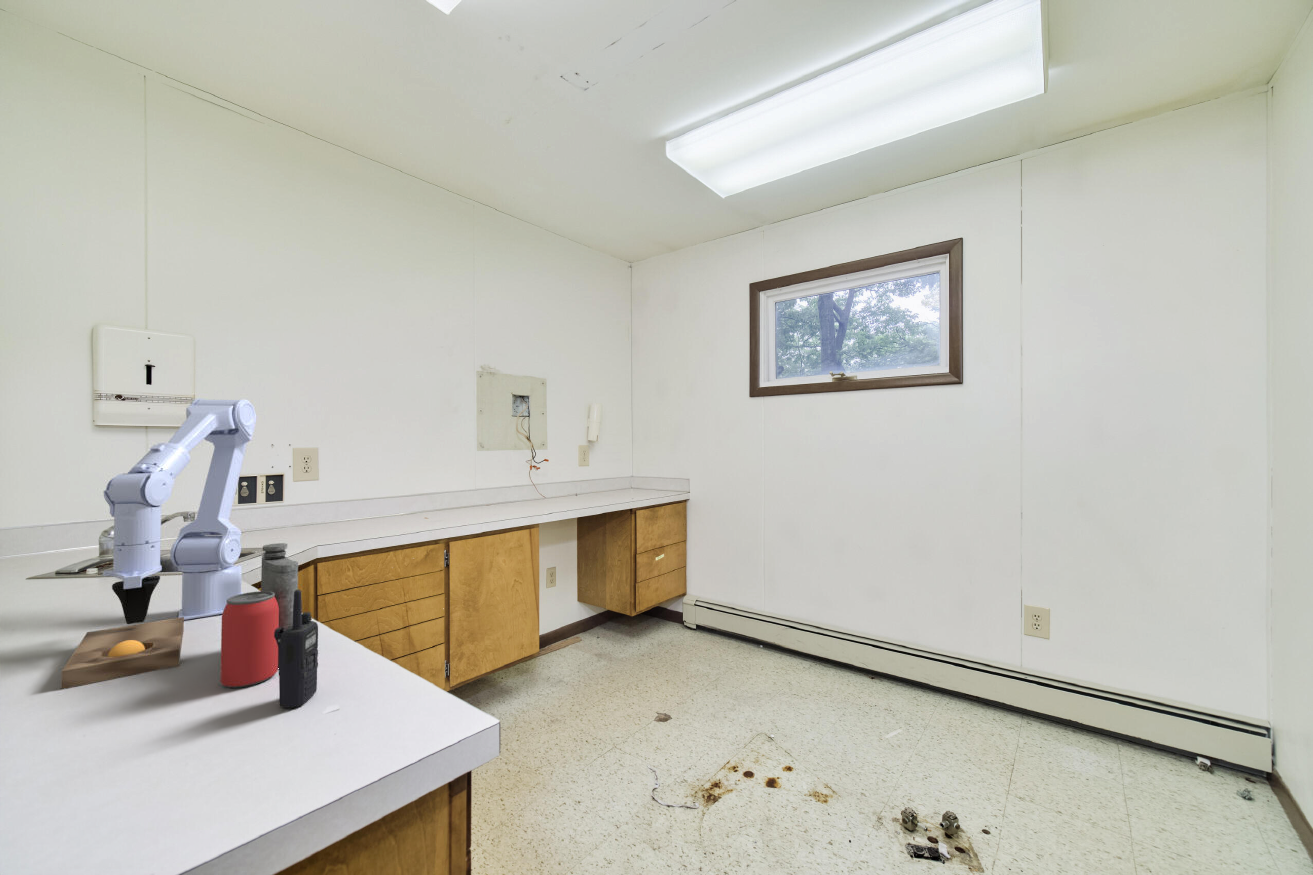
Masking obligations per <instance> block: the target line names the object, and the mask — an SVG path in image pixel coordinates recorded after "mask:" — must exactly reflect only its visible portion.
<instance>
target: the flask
mask: <svg viewBox="0 0 1313 875" xmlns="http://www.w3.org/2000/svg"><path fill="white" fill-rule="evenodd" d="M287 549H288V543H284V542H283V543H271V544H270V543H269V544H265V545H263V546H262V551H263V553H262V554H261V574H260V575H261V576H260V577H261V579H260V580H261V581H260V588H261V589H260V591H270V592H274V593H275V596H274V597H275V599H276V601H277V603H278V607H279V628H284V629H283V630H286V629H287V628H289V627H291V626H293V603H294V592H295V591H296V590H299V589H298V588H299V586H298V585H299V562H298V561H296V560H293V559H291V558H288V557H287V556H286V555H287V551H286V550H287ZM278 668H279V652H278Z"/></svg>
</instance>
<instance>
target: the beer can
mask: <svg viewBox="0 0 1313 875" xmlns="http://www.w3.org/2000/svg"><path fill="white" fill-rule="evenodd" d="M274 596H275V593H274V592H270V591H261V590H260V591H252V592H246V593H244V592H243V594H239V595H235V596H233V597H230V598H228V599H227V604H226V606H225V608H224V610H223V614H221V631H220V632H221V633H220V634H221V636H220V637H221V639H220V642H221V644H220V683H221V685H222V686H224V687H226V688H233V689H234V688H236V689H237V688H246V686H247V687H251V686H254V685H258V684H261V683H264V682H266V681H268V680H270V679H271V678H273V677H274V676H275V675H276V674H277V672H279V669H278V645H277V642H276V639H275V638H274V632H275V629H277V628H279V607H278V603H277V601H276V599H275V597H274Z"/></svg>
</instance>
